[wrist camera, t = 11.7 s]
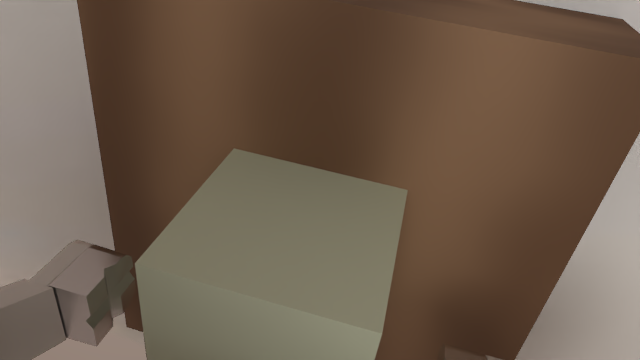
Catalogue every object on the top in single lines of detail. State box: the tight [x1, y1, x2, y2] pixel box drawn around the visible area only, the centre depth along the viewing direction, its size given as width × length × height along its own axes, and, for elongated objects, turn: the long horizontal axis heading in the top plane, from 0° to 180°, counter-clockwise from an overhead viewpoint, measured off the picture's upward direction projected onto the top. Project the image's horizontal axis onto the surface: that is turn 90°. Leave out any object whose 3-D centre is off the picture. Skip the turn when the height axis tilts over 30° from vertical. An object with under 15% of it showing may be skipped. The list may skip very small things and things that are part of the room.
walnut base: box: [77, 0, 640, 360], centre depth 16 cm, size 14×14×4 cm
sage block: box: [135, 149, 408, 360], centre depth 13 cm, size 5×5×5 cm
